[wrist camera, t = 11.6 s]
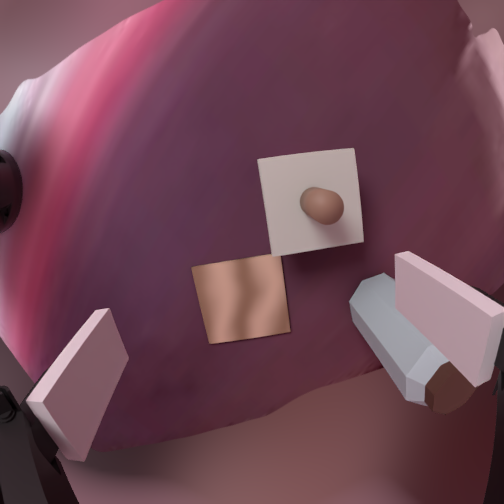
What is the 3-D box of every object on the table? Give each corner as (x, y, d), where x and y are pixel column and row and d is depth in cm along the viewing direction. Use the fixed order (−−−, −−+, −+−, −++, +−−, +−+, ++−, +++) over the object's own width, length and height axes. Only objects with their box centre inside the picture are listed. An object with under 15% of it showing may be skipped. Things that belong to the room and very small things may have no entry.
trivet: (209, 342, 49) (209, 344, 49) (191, 266, 46) (191, 267, 45) (289, 330, 49) (290, 331, 49) (279, 252, 46) (280, 253, 45)
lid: (271, 254, 40) (278, 272, 33) (257, 159, 37) (261, 157, 30) (360, 239, 40) (382, 253, 33) (350, 148, 37) (373, 145, 30)
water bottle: (409, 300, 49) (497, 381, 25) (364, 337, 50) (431, 438, 26) (383, 257, 47) (483, 330, 23) (334, 297, 48) (403, 400, 24)
